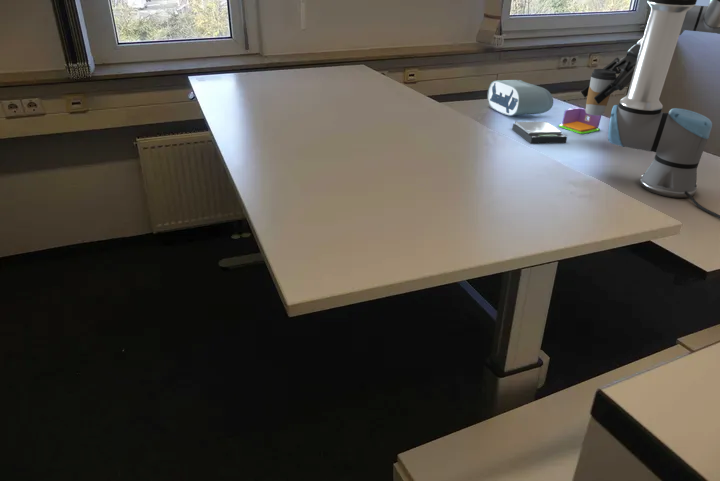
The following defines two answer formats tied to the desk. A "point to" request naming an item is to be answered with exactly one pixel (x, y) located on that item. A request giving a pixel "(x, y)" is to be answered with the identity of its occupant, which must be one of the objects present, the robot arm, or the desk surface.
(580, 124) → the toy room diorama
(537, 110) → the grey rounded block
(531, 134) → the scale
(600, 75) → the coffee cup
